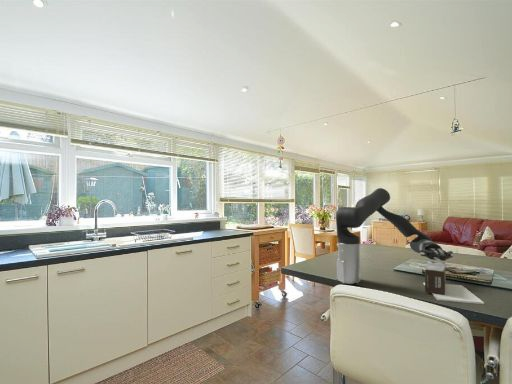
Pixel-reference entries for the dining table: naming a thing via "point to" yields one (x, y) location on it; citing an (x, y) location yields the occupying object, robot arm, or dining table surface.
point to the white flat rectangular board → (457, 295)
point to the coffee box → (435, 277)
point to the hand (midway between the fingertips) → (443, 258)
